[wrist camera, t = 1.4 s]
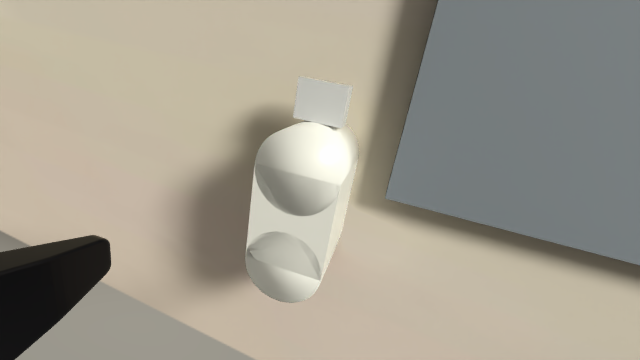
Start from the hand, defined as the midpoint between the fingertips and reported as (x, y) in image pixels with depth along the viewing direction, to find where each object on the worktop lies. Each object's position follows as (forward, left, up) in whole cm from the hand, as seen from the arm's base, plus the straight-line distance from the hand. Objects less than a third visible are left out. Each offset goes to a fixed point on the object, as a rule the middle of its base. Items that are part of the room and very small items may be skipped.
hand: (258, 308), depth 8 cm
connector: (-1, +1, -12) cm, 12 cm away
